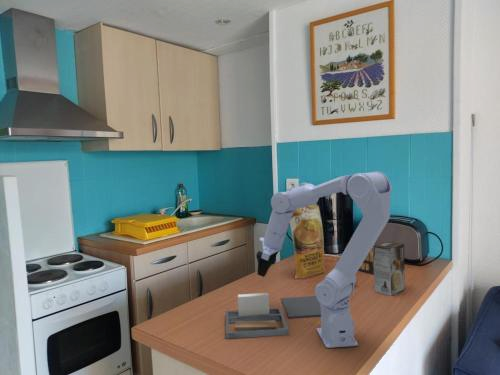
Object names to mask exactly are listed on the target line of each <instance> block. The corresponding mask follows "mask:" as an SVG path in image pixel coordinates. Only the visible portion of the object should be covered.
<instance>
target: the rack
mask: <svg viewBox="0 0 500 375" xmlns="http://www.w3.org/2000/svg"><path fill="white" fill-rule="evenodd" d="M269 313H270V314H267V315H252V316H239V313H238V310H237V309H235V310H226V311H225V339H226V340H231V339H247V338H259V337H275V336H286V335H287V336H289V335H290V328H289V326H288V323H287V321H286V319H285V316H284V313H283V310H282V308H281V307H269ZM270 320H275V321H281V325H282V327H281V328H280V327H279V328H278V329H263V330H249V331H234V330H233V331H230V326H229V325H230V324H235V323H236V321H270Z"/></svg>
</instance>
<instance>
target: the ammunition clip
mask: <svg viewBox="0 0 500 375" xmlns="http://www.w3.org/2000/svg"><path fill="white" fill-rule="evenodd" d="M359 271H360V273H365V274H369V275H374V246H373V247H372V248H371V250H370V252H369V253H368V255H367V257H366V258H365V260H364V262H363V263H362V265H361V267H360V268H359V270H358V272H359Z"/></svg>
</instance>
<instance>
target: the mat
mask: <svg viewBox="0 0 500 375" xmlns="http://www.w3.org/2000/svg"><path fill="white" fill-rule="evenodd" d="M280 300H281V303H282V306H283V308H284V311H285V313H286V315H287V317H288V319H301V318H303V319H304V318H318V317H319V318H321V305H320V303H319V301H318V300H317V298H316V295H313V296H312V295H309V296H294V297H293V296H292V297H291V296H290V297H281V298H280Z"/></svg>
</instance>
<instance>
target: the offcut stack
mask: <svg viewBox="0 0 500 375" xmlns="http://www.w3.org/2000/svg"><path fill="white" fill-rule="evenodd" d="M276 321H277V320H270V321H236V323H234V329H233V332H234V331H249V330H263V329H278V328H280V327H279V324H277V322H276Z"/></svg>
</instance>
